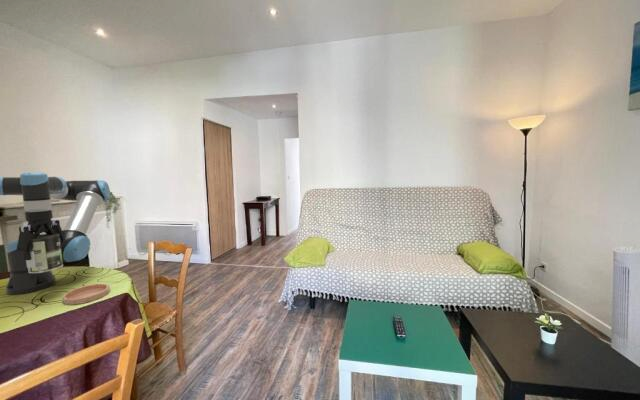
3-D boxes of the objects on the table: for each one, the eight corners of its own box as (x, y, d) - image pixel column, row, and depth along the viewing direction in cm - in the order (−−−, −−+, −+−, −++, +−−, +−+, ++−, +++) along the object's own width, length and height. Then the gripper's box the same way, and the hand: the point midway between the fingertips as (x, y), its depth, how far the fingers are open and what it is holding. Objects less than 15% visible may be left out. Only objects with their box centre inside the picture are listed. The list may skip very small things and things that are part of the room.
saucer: (70, 292, 112) (70, 288, 112) (112, 285, 119) (112, 281, 119) (57, 308, 100) (56, 303, 99) (105, 299, 107) (104, 294, 106)
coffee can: (61, 262, 115) (58, 232, 113) (64, 268, 108) (60, 235, 107) (27, 269, 107) (22, 236, 105) (28, 275, 100) (23, 241, 99)
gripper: (56, 206, 116) (62, 253, 118) (-5, 215, 93) (4, 273, 96) (73, 206, 116) (78, 253, 119) (16, 215, 94) (24, 273, 96)
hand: (45, 262), depth 107 cm, fingers closed on coffee can, 10 cm apart
